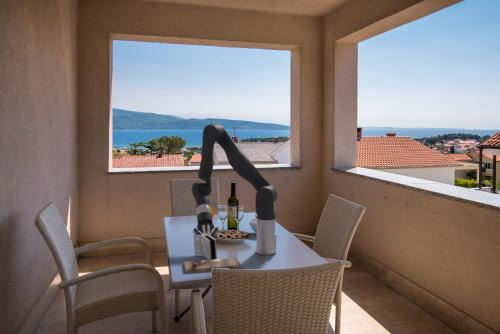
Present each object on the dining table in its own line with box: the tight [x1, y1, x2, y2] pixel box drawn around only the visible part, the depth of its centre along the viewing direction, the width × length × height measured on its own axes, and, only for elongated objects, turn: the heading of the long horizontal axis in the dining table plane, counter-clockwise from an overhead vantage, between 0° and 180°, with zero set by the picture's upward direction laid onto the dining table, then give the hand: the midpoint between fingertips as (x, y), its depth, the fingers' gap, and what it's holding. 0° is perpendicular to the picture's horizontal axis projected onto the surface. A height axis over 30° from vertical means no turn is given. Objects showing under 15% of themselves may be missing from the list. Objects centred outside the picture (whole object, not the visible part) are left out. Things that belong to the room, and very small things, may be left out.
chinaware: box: [249, 217, 257, 235], centre depth 223 cm, size 15×15×8 cm
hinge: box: [192, 233, 218, 260], centre depth 178 cm, size 14×5×10 cm, turn 43°
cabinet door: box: [183, 257, 242, 274], centre depth 166 cm, size 24×10×3 cm, turn 104°
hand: (207, 246), depth 180 cm, fingers closed
